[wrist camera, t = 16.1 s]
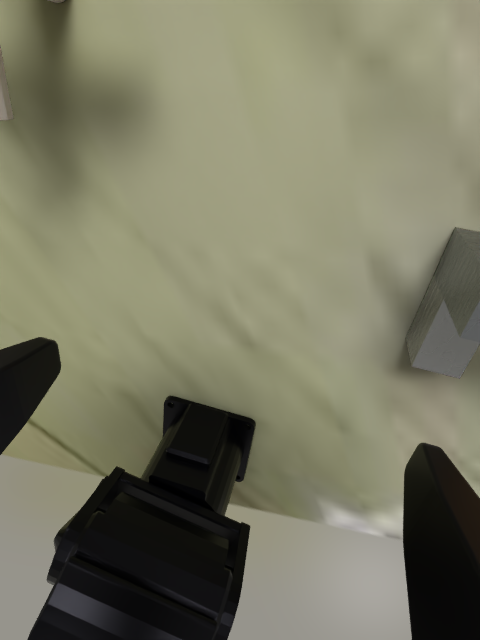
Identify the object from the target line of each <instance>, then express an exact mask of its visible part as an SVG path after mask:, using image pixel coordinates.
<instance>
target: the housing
mask: <svg viewBox="0 0 480 640" xmlns="http://www.w3.org/2000/svg"><path fill="white" fill-rule="evenodd" d="M406 342H407V347H408V351H409V356H410V361H411V366H412V367H416V368H420V369H424V370H428V371H432V372H436V373H440V374H444V375H448V376H452V377H456V378H459V379H460V377H461V375H462V374H463V372H464V370H465V369H466V367H467V365H468V363H469V362H470V360H471V358H472V357H473V355H474V353H475V351H476V350H477V348H478V346H479V344H480V232H476V231H471V230H466V229H461V228H456V227H455V229H454V231H453V233H452V236H451V238H450V240H449V242H448V245H447V247H446V249H445V251H444V254H443V256H442V258H441V260H440V263H439V265H438V267H437V269H436V272H435V274H434V276H433V278H432V281H431V283H430V285H429V287H428V289H427V292H426V294H425V296H424V298H423V301H422V303H421V305H420V307H419V310H418V312H417V314H416V316H415V319H414V321H413V323H412V325H411V328H410V330H409V332H408V334H407V337H406Z"/></svg>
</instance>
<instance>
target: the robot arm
mask: <svg viewBox="0 0 480 640" xmlns="http://www.w3.org/2000/svg"><path fill="white" fill-rule="evenodd" d="M60 370H61V362H60V355H59V349H58V344H57V343H56V341H54V340H51V339H47V338H44V337H38V338H35V339H32V340H29V341H26V342H22V343H19V344H16V345H13V346H10V347H7V348H4V349H1V350H0V455H1V454H2V452H3V451H4V450H5V449H6V447H7V446H8V445H9V444H10V443H11V441H12V440H13V439H14V438H15V436H16V435H17V434H18V433H19V432H20V430H21V429H22V428H23V426H24V425H25V424H26V423H27V421H28V420H29V418H30V417H31V416H32V414H33V413H34V411H35V410H36V408H37V406H38V405H39V403H40V402H41V400H42V399H43V397H44V396H45V394H46V393H47V391H48V390H49V388H50V387H51V385H52V384H53V382H54V381H55V379H56V378H57V376H58V375H59V373H60ZM172 403H173V404H172ZM248 425H249V426H248ZM255 426H256V423H255V421H254V420H253V419H251V418H248V417H244V416H241V415H237V414H234V413H230V412H227V411H223V410H220V409H216V408H213V407H209V406H206V405H202V404H199V403H195V402H192V401H188V400H185V399H181V398H178V397H174V396H168V397H167V398H166V400H165V402H164V422H163V439H162V440H161V442H160V444H159V446H158V448H157V450H156V451H155V453H154V455H153V457H152V459H151V460H150V462H149V464H148V466H147V468H146V470H145V471H144V473H143V475H142V477H141V479H140V478H138V477H136V476H134V475H131V474H129V473H127V472H125V470H124V469H122V468H120V467H117V466H116V468H115V469H114V470H113V472H112V473H111V474H110V475H109V477H108V476H106V477H105V478H104V479H102V481H101V482H100V484H99V486H98V487H97V489H96V490H95V491H94V493H93V494H92V495H91V497H90V498H89V499H88V500H87V502H86V503H85V504H84V506H83V507H82V508H81V509H80V510H79V511H78V513H76V514H75V515H74V516H73V517H72V518H71V519H70V520H69V521H68V522H67V523H66V524H65V525H64V526H63V527H62V528H61V529H60V530H59V532H58V533H57V535H56V537H55V539H54V546H55V551H56V553H55V555H54V558H53V561H52V565H51V567H50V569H49V573H48V576H47V582H48V583H50V584H52V585H54V586H53V588H52V590H51V592H50V594H49V596H48V599H47V600H46V603H45V605H44V606H43V608H42V610H41V612H40V614H39V616H38V618H37V620H36V622H35V624H34V626H33V628H32V630H31V632H30V634H29V637H28V640H227V638H228V636H229V633H230V630H231V627H232V624H233V621H234V618H235V614H236V611H237V607H238V603H239V598H240V594H241V588H242V582H243V575H244V568H245V560H246V552H247V546H248V539H249V531H250V526H249V525H248V524H245V523H243V522H242V523H239V522H237V521H234V520H232V519H230V518H228V517H225V512H226V509H227V505H228V503H229V499H230V496H231V493H232V489H233V486H234V483H235V481H237V482H241V481H243V479H244V476H245V472H246V467H247V462H248V458H249V453H250V449H251V444H252V440H253V435H254V430H255ZM403 547H404V559H405V570H406V581H407V591H408V601H409V613H410V622H411V633H412V640H480V498H479V497H478V495H477V494H476V493H475V491H474V490H473V489H472V488H471V486H470V485H469V484H468V482H467V481H466V480H465V478H464V477H463V476H462V475H461V473H460V472H459V471H458V469H457V468H456V467H455V465H454V464H453V463H452V461H451V460H450V459H449V458H448V456H447V455H446V454H445V452H444V451H443V450H442V449H441V448H440V447H438V446H434V445H430V444H427V443H420V444H419V445H418V446H417V448H416V449H415V451H414V453H413V455H412V456H411V458H410V460H409V462H408V463H407V465H406V468H405V473H404V514H403Z"/></svg>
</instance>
